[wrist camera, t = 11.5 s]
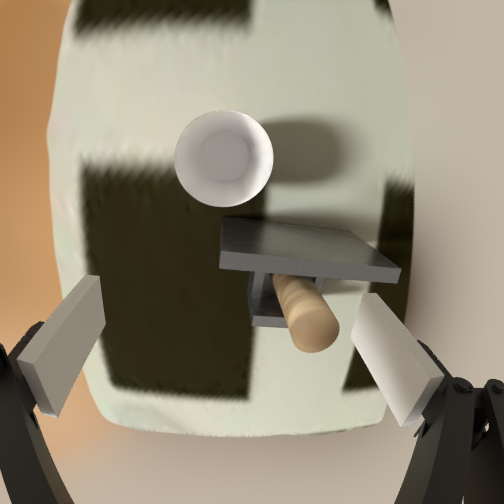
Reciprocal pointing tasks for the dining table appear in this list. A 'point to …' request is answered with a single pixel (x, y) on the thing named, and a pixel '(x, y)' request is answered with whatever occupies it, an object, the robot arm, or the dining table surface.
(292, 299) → the wooden dowel
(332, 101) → the dining table surface
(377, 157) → the dining table surface
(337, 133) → the dining table surface
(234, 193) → the cup
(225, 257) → the bracket
